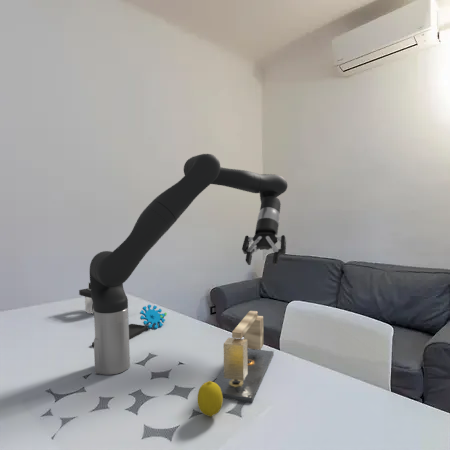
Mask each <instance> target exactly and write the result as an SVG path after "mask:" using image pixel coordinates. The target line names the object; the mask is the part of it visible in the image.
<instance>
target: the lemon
mask: <svg viewBox="0 0 450 450" xmlns="http://www.w3.org/2000/svg"><path fill="white" fill-rule="evenodd" d="M214 382H215V381H211V380H208V381H206V382H204V383H203V384H202V385H201V386H200V388H199V389H198V393H197V406H198V408H199V411H200V412H201V413H202V414H203V415H205V416H208V417H210V418H212V417H213V416H215V415H217V414H218V413H219V412H220V411H221V409H222V407H223V402H224V398H223V396H222V392H221V389H220V387H219V386H218V384H216V383H214Z"/></svg>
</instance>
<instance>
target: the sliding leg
mask: <svg viewBox="0 0 450 450" xmlns="http://www.w3.org/2000/svg"><path fill="white" fill-rule="evenodd" d="M231 338H236V339H245V340H247V348H249V349H253V350H255V349H257V350H262V348H263V347H264V316H263V315H259V314H258V311H257V310H249V311H248V312H247V313H246V315H245V316H244V317H243V318H242V319H241V320H240V322H239V323H238V325H236V326H235V328H234V329H233V330H232V331H231Z"/></svg>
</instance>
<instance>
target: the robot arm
mask: <svg viewBox="0 0 450 450" xmlns="http://www.w3.org/2000/svg"><path fill="white" fill-rule="evenodd" d="M183 173H184V174H183V175H184V176H183V177H182V178H181V179H179V181H177V182H176V183H174V184H173V185H171V186H170V187H169V188H167V189H165V190H164V191H163V192H161V193H160V194H159V195H158V196H156V197H155V198H154V199H153V200H152V201H151V202H150V203H149V204H148V205H147V206H146V207H145V208H144V209H143V211H142V212H141V213H140V214H139V217H138V218H137V220H136V222H135V224H134V226H133V228H132V230H131V232H130V233H129V235H128V236H127V237H126V238H125V240H124V241H122V243H121V244H119V245H118V246H117V247H116V248H115V249H114V250H113V251H110V250H103V251H100V252H98V253H97V254H95V255H94V256H93V258H92V259H91V262H90V264H89V283H90V287H91V297H92V301H93V305H94V313H93V317H94V319H93V320H94V321H93V322H94V338H93V342H94V347H93V351H94V353H93V354H94V358H93V359H94V374H95V375H96V374H99V375H105V376H108V375H117V374H120V373H122V372H126V371H127V370H128V369H129V368H130V366H131V355H130V353H131V351H130V340H129V324H130V321H129V320H130V319H129V302H128V301H129V299H128V296H127V294H126V292H125V289H124V285H123V284H124V283H125V282H126V281H128V279H129V278H130V276H131V275H132V274H133V272H134V271H135V270H136V268H137V267H138V265H139V264H140V263H141V262H142V260H143V258H145V256H146V255H147V253H149V251H151V249H152V248H153V247H154V246H155V245H156V244H157V242H159V240H160V239H161V238H163V236H164V235H165V234H166V233H167V232H168V231H169V230H170V228H171V227H172V226H173V225H174V224H175V223H176V222H177V220H178V219H179V218H180V217H181V215H183V213H184V212H185V211H186V210H187V209H188V208H189V207H190V205H191V204H192V203H193V201H194V200H195V199H196V198H197V197H198V196H199V195H200V194H201V193H203V191H204V190H205V189H207V188H208V187H209V186H210V185H215V186H223V187H228V188H231V189H235V190H240V191H243V192H247V193H251V194H259V199H260V208H259V213H258V216H257V220H256V221H257V222H256V226H255V231H254V235H253V237H251V236H250V237H249V235H245V237H244V239H243V244H242V246H241V247H242V248H241V250H242V252H243V254H244V255H245V262H246V264H247V265H248V266H251V264H252V258H253V254H254V253H257V252H258V251H259V250H261V251H263V250H266V251H267V250H268V251H269V250H271V251H272V252H273V255H272V264H273V266H277V265H278V264H279V260H280V256H281V255H286V252H287V248H286V247H287V239H286V236H285V234H284V235H283V234H282V235H281V236H278V233H279V232H278V231H279V225H280V213H281V212H280V211H281V205H282V204H281V200H280V199H279V198H278V197H279V196H281V195H283V194H284V193H285V192H286V191H287V189H288V182H287V179H285V178H284V176H281V175H279V174H272V173H270V174H269V173H268V174H267V173H262V174H261V173H260V174H259V173H257V172H252V171H248V170H245V169H244V170H243V169H238V168H237V169H235V168H227V167H221V163H220V160H219V158H218V157H217V156H216V155H214V154H212V153H202V154H201V153H200V154H197V155H194V156H192V157H190V158H188V160H186V161H185V163H184V165H183ZM278 242H279V243H280V248H278V247H277V246H276V244H277V243H278ZM249 246H250V247H249Z"/></svg>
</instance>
